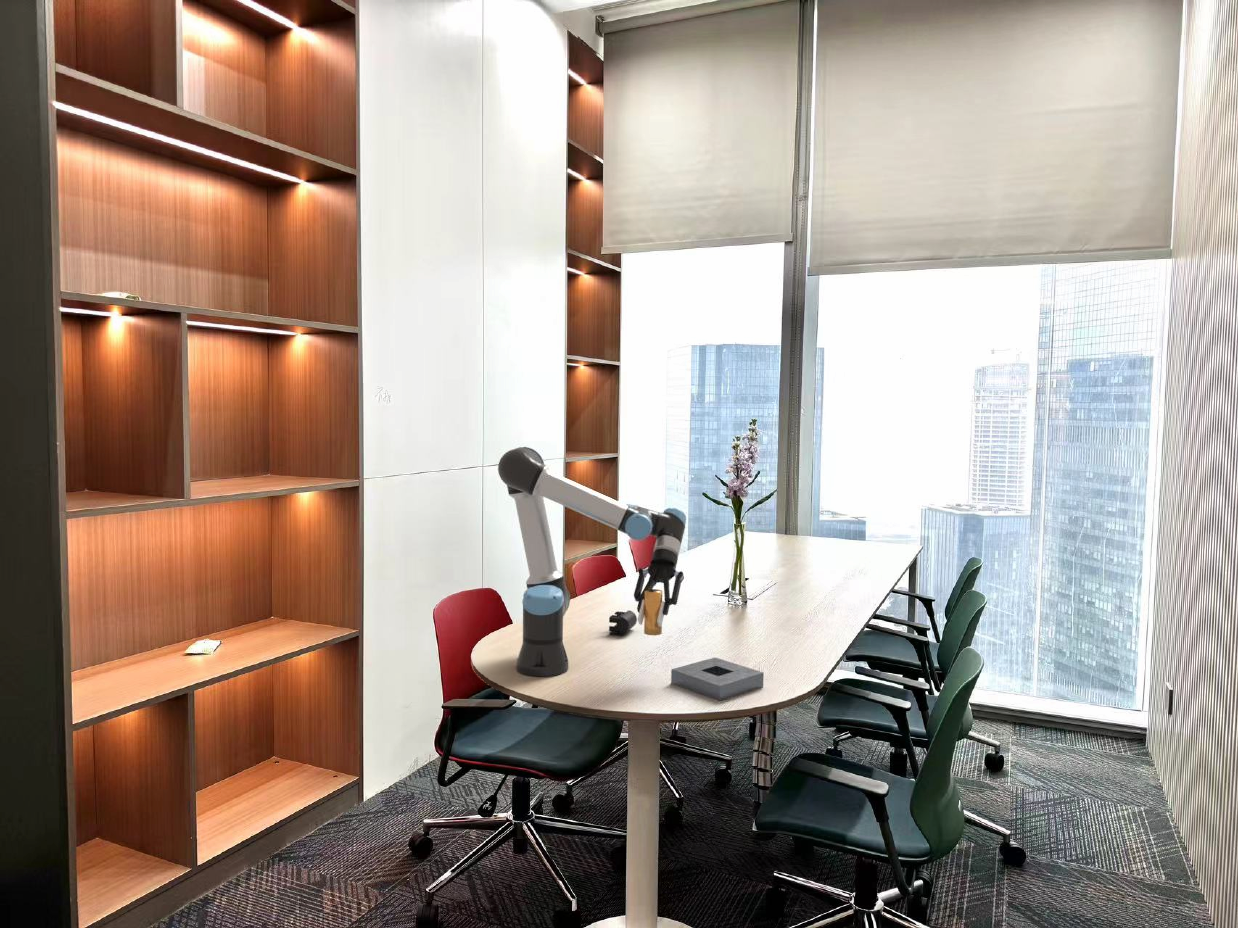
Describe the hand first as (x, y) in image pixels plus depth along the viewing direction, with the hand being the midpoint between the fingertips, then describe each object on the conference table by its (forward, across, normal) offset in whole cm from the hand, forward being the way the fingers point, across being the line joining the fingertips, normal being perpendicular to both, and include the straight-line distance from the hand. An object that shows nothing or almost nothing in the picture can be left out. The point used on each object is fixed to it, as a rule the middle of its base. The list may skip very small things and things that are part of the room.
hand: (649, 622), depth 232 cm
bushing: (0, 0, -5) cm, 5 cm away
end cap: (-21, +23, -45) cm, 55 cm away
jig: (+9, -18, -15) cm, 25 cm away
